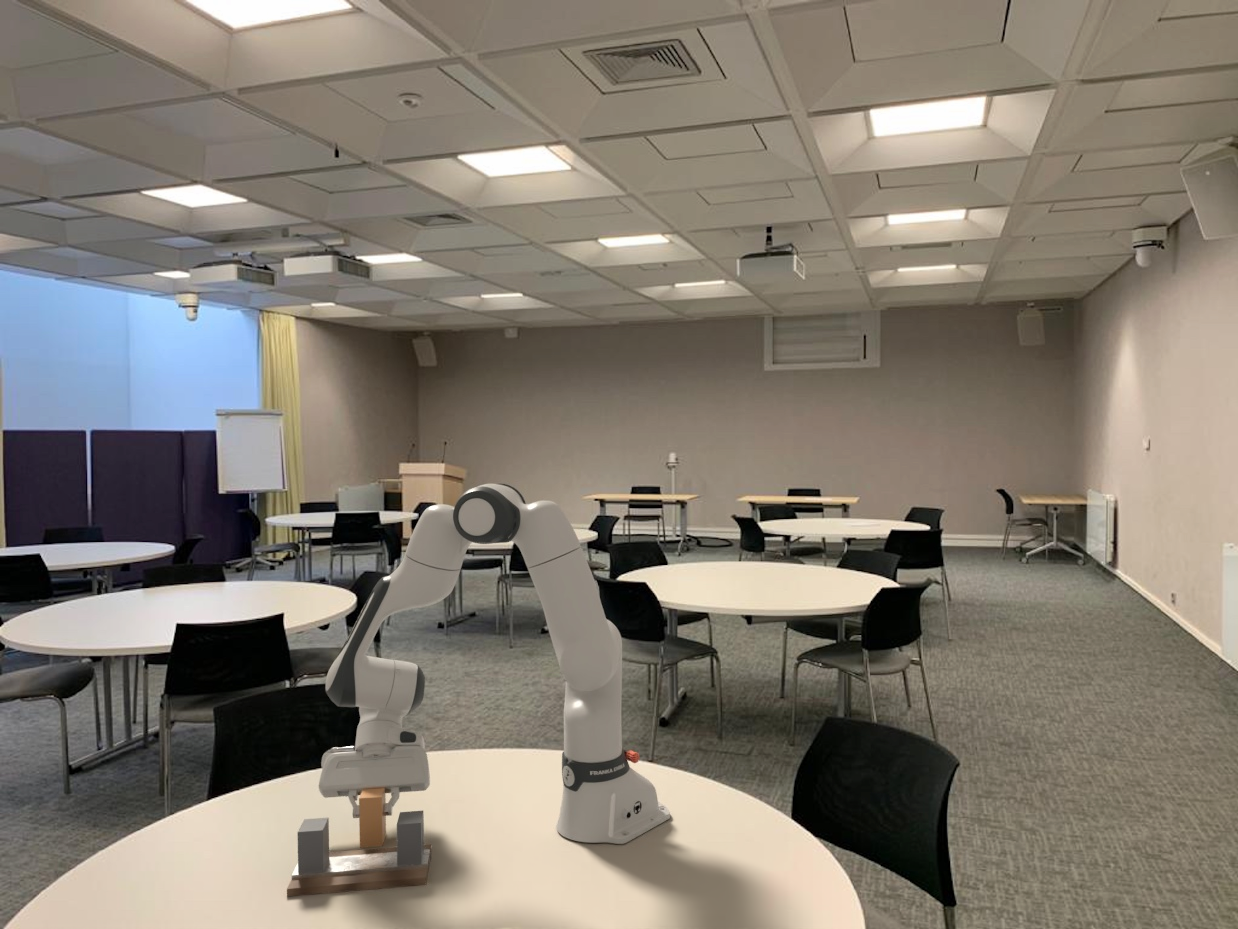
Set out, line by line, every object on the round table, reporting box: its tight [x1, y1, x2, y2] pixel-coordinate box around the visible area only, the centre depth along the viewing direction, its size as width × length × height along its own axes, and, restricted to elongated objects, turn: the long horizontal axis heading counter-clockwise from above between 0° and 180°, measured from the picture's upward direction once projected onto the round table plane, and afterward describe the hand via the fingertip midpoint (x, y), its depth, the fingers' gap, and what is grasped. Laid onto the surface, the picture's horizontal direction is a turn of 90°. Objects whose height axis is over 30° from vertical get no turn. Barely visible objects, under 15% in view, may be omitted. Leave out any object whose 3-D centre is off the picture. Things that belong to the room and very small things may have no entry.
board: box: [286, 843, 433, 897], centre depth 143 cm, size 22×12×1 cm, turn 98°
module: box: [358, 788, 387, 849], centre depth 155 cm, size 4×5×9 cm
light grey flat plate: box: [291, 849, 430, 879], centre depth 143 cm, size 22×6×1 cm, turn 98°
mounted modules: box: [297, 810, 425, 874], centre depth 143 cm, size 20×5×7 cm, turn 98°
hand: (372, 815), depth 154 cm, fingers closed on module, 4 cm apart
